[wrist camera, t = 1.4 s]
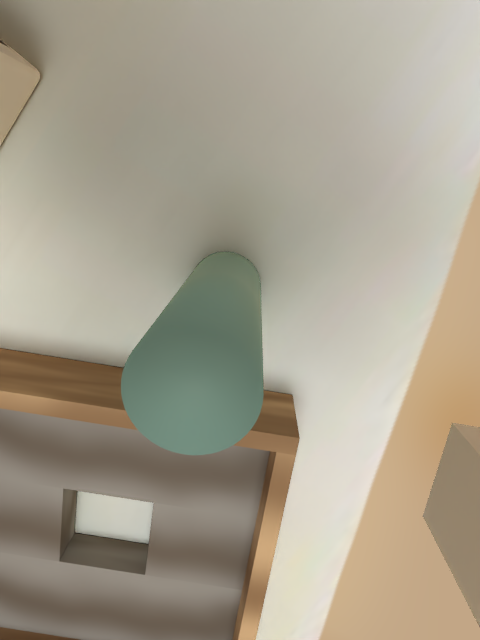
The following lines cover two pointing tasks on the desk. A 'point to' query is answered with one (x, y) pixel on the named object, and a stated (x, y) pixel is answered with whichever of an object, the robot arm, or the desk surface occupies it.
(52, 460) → the socket box
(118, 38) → the desk surface
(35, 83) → the container
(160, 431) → the peg
